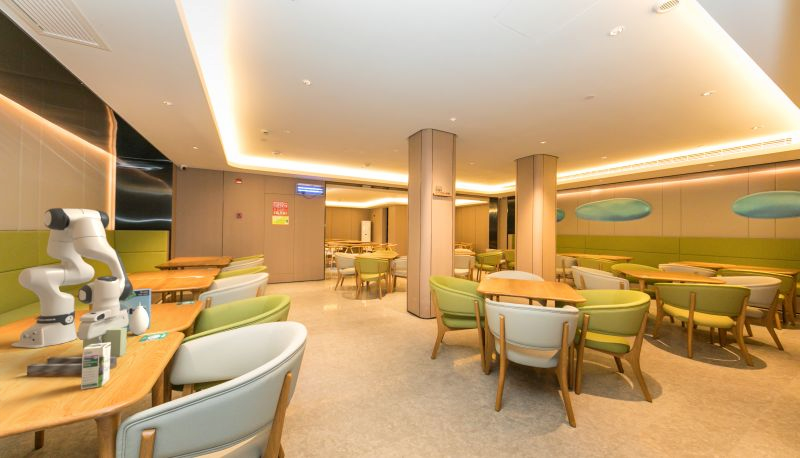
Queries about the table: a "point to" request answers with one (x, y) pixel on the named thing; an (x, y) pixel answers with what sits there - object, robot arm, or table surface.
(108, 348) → the syrup box
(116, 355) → the door panel
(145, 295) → the gum box
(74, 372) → the track
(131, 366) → the table surface
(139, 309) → the white air blower bulb
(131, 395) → the table surface
